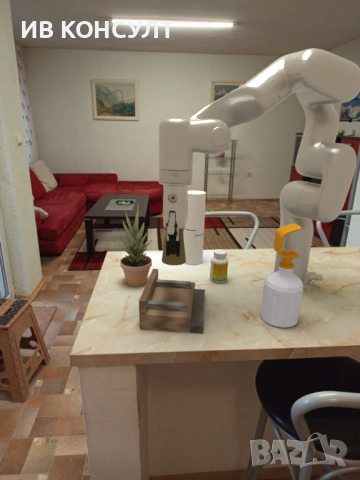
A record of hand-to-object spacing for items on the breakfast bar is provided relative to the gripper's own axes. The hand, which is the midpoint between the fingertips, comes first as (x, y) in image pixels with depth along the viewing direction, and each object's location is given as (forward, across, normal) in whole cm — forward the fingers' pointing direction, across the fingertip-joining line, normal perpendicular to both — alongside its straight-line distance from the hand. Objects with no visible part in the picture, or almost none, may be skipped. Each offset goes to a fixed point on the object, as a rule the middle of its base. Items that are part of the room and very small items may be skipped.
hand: (174, 251), depth 77 cm
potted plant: (+17, +15, +13) cm, 26 cm away
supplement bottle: (+17, +20, -12) cm, 29 cm away
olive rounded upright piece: (+2, 0, 0) cm, 2 cm away
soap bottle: (+17, 0, -27) cm, 32 cm away
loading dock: (+16, 0, -1) cm, 16 cm away
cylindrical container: (+17, +34, -3) cm, 38 cm away
